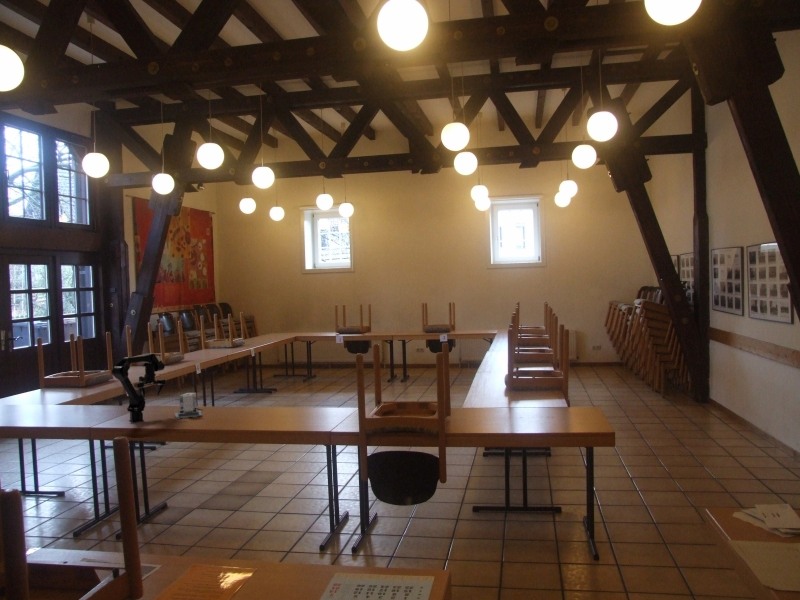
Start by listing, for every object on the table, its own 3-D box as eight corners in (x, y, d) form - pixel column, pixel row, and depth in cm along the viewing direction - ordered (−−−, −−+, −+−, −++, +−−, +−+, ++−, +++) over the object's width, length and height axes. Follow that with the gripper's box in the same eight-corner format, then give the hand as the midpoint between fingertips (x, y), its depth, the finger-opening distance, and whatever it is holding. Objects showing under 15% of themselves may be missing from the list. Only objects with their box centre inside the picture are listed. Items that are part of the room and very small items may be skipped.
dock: (175, 419, 367) (175, 415, 367) (174, 414, 382) (174, 410, 381) (202, 416, 373) (201, 412, 373) (200, 412, 388) (200, 407, 388)
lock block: (183, 414, 374) (183, 396, 373) (183, 413, 379) (183, 395, 378) (192, 414, 376) (192, 395, 375) (192, 412, 381) (191, 394, 381)
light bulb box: (188, 411, 391) (188, 395, 391) (179, 411, 393) (179, 395, 393) (197, 408, 402) (196, 392, 402) (188, 407, 403) (187, 392, 403)
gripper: (158, 370, 389) (159, 393, 390) (130, 373, 376) (131, 397, 376) (166, 371, 382) (167, 394, 382) (137, 374, 368) (138, 399, 368)
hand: (150, 396), depth 377 cm, fingers open, 9 cm apart
